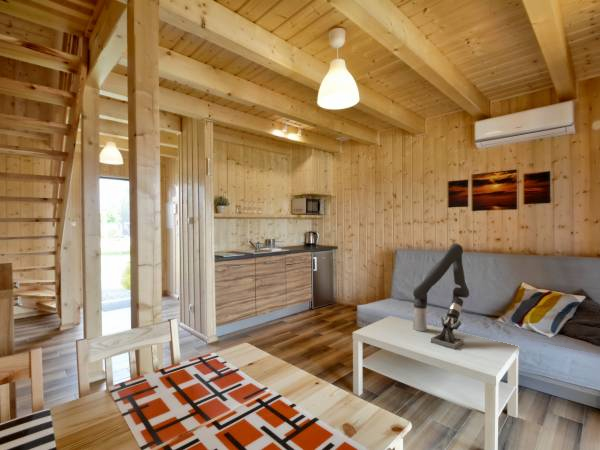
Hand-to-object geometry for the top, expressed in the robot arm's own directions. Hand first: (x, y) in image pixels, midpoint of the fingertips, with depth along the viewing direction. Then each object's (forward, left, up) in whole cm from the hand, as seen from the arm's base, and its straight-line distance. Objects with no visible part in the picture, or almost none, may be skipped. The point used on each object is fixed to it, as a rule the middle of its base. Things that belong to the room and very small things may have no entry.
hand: (447, 332), depth 213 cm
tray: (0, 0, -7) cm, 7 cm away
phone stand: (0, 0, -6) cm, 6 cm away
